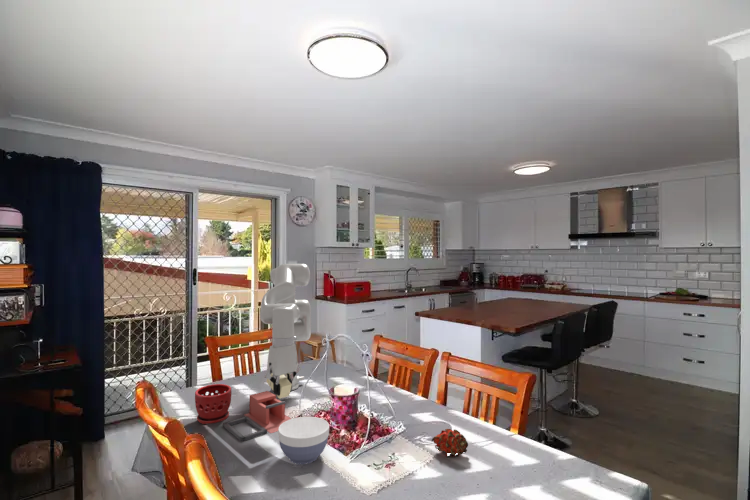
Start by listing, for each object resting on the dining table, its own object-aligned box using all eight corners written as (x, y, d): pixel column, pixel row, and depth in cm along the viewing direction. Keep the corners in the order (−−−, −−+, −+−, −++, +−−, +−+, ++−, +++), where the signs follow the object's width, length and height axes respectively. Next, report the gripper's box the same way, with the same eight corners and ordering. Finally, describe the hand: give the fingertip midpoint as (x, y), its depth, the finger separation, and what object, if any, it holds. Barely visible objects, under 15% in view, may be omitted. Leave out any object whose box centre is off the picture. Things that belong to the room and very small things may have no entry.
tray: (247, 421, 152) (247, 416, 152) (267, 435, 140) (267, 429, 140) (222, 428, 146) (222, 423, 146) (241, 444, 134) (241, 438, 134)
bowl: (285, 475, 115) (285, 442, 115) (272, 451, 129) (273, 421, 129) (336, 462, 122) (336, 431, 123) (319, 441, 137) (319, 413, 137)
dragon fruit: (470, 465, 125) (434, 462, 130) (472, 439, 131) (438, 437, 136) (463, 449, 121) (426, 447, 126) (466, 424, 127) (430, 422, 132)
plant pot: (188, 420, 153) (189, 389, 153) (221, 410, 162) (222, 381, 162) (203, 431, 144) (204, 397, 144) (237, 420, 153) (237, 389, 154)
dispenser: (243, 417, 156) (243, 396, 156) (271, 409, 164) (271, 389, 164) (270, 436, 140) (270, 412, 140) (299, 426, 148) (300, 404, 148)
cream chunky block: (266, 381, 146) (268, 370, 144) (276, 379, 149) (278, 368, 147) (279, 398, 139) (281, 386, 138) (289, 395, 142) (292, 384, 141)
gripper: (297, 336, 150) (297, 385, 150) (256, 343, 138) (255, 395, 138) (308, 339, 144) (308, 390, 144) (267, 347, 133) (266, 401, 133)
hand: (282, 392), depth 141 cm, fingers closed on cream chunky block, 3 cm apart
